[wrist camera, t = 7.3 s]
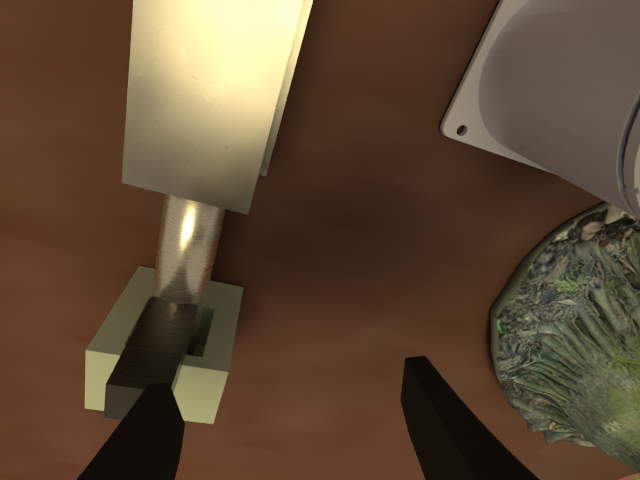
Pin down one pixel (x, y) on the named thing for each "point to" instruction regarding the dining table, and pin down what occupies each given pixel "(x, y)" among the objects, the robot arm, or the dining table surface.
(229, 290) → the socket block
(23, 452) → the dining table surface
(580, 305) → the tree stump
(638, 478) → the toy food platter
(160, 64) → the grey boxy piece
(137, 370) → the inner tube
